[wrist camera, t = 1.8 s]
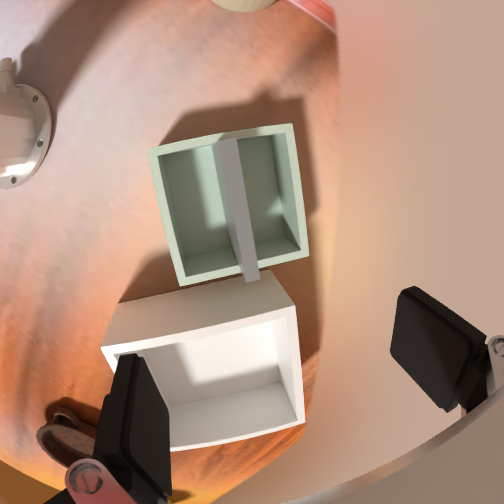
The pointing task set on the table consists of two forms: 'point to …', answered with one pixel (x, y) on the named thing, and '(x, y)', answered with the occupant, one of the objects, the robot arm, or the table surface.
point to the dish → (67, 438)
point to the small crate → (230, 202)
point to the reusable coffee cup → (244, 5)
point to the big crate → (217, 358)
